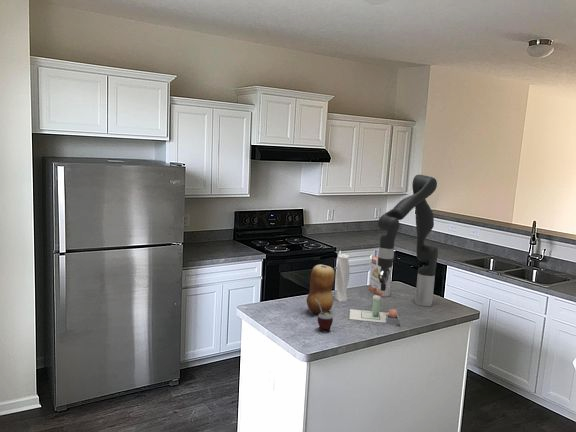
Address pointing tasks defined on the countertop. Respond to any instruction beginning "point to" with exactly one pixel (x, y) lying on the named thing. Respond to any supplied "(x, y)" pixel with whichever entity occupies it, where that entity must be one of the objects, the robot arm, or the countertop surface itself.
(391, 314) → the button
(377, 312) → the marker
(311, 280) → the butternut squash
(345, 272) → the skyscraper
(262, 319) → the countertop surface
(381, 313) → the white flat board
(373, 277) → the cracker box
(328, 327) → the mate gourd
